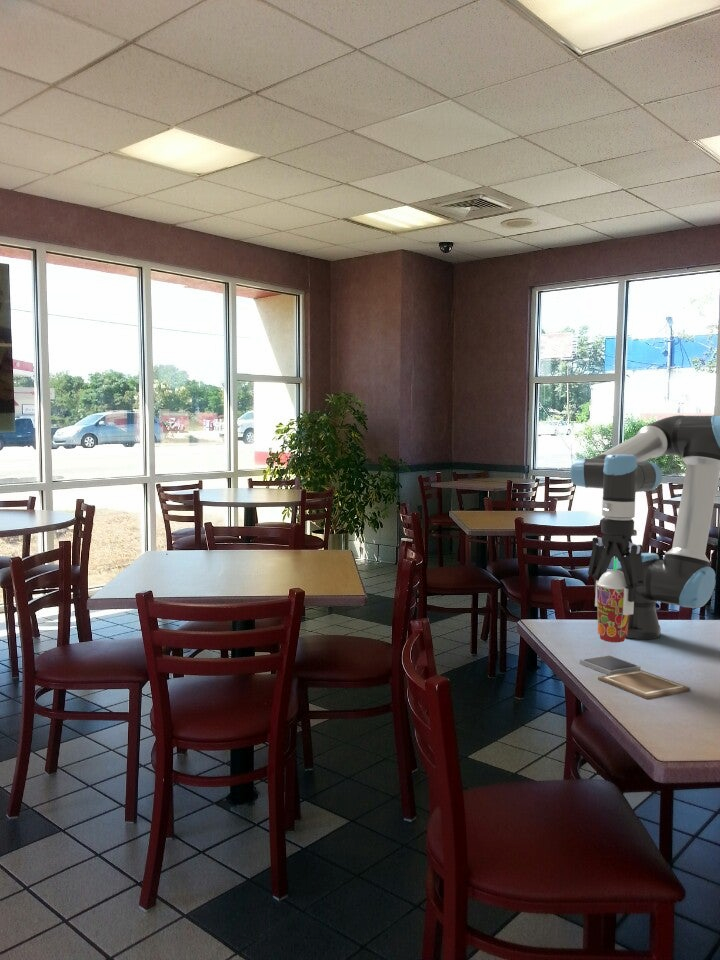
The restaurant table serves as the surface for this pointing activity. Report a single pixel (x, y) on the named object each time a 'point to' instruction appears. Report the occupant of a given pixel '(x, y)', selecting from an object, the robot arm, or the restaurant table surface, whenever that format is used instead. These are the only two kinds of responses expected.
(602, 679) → the board
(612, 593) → the smoothie
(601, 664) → the ink pad
